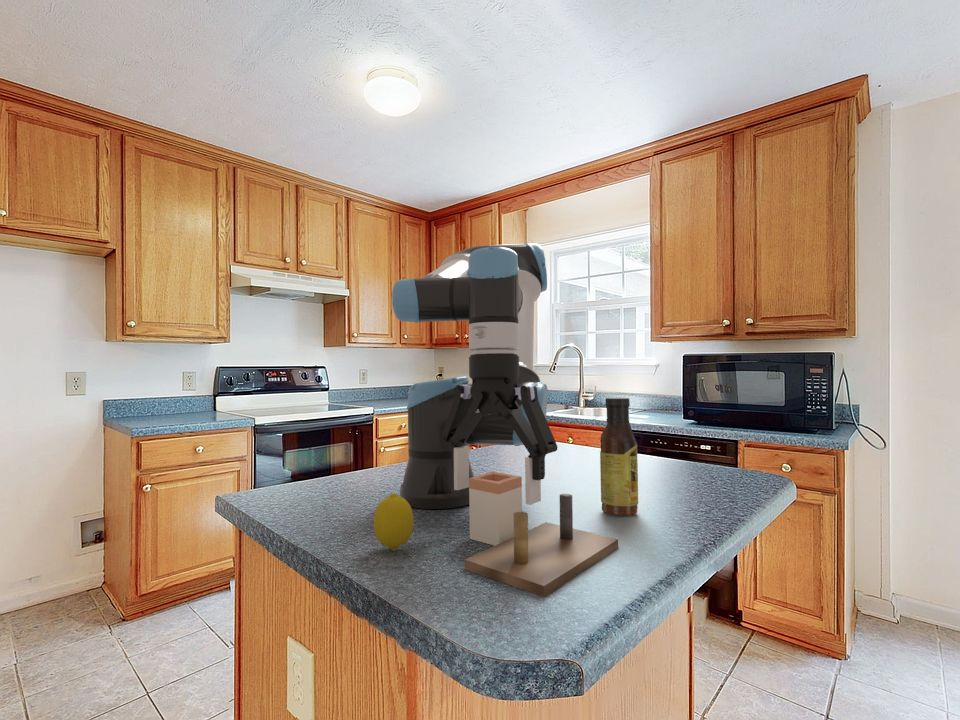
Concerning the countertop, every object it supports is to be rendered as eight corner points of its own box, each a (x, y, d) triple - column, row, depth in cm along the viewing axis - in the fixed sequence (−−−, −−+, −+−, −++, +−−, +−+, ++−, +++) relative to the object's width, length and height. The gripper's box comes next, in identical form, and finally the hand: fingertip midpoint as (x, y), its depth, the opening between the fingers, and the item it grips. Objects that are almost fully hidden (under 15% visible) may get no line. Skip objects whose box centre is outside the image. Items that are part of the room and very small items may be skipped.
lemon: (376, 544, 73) (375, 489, 73) (414, 542, 74) (414, 488, 74) (371, 559, 68) (370, 499, 68) (412, 557, 68) (412, 498, 68)
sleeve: (469, 538, 75) (469, 478, 75) (493, 528, 79) (492, 471, 79) (499, 547, 71) (498, 483, 71) (522, 536, 76) (521, 476, 76)
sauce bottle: (640, 519, 83) (638, 399, 83) (601, 517, 85) (600, 399, 85) (636, 507, 90) (634, 396, 90) (600, 506, 91) (598, 396, 91)
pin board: (464, 569, 64) (463, 512, 64) (546, 529, 78) (545, 483, 79) (544, 596, 56) (543, 532, 56) (618, 547, 71) (617, 496, 71)
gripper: (418, 354, 81) (419, 487, 80) (551, 349, 64) (553, 515, 64) (450, 355, 86) (451, 479, 86) (580, 350, 70) (582, 503, 70)
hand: (495, 495), depth 75 cm, fingers open, 13 cm apart
